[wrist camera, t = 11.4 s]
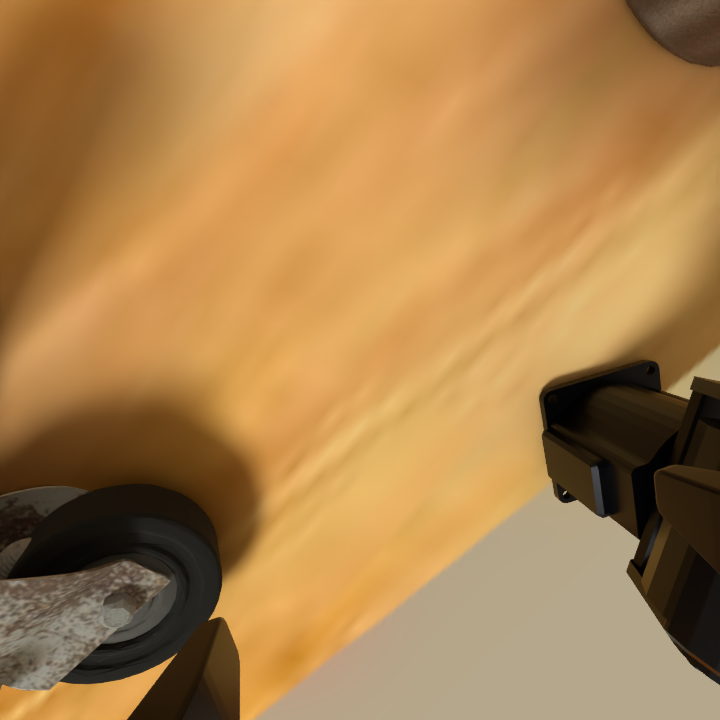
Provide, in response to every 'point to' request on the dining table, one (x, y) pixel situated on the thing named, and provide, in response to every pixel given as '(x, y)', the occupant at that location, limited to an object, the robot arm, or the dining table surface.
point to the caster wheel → (100, 582)
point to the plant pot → (683, 27)
